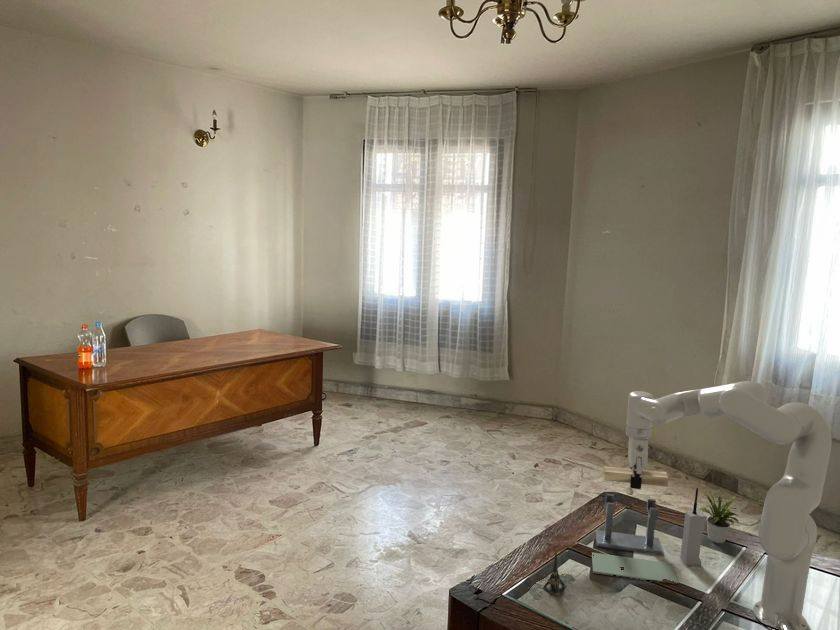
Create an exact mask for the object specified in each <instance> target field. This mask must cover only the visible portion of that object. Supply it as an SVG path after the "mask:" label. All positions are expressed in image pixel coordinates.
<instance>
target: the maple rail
mask: <svg viewBox="0 0 840 630" xmlns="http://www.w3.org/2000/svg"><path fill="white" fill-rule="evenodd" d="M635 471H636V469H634V472H635ZM631 476H632V469H630V468H626V467H625V468H624V467H615V466H606V465H605V466H603V480H604V481H607V482H618V483H628V484H630V482H631ZM668 484H669V476H668V473H667V471H666V472H665V471H657V470H648V469H646V470H645V469H642V482H641V485H648V486H649V485H650V486H657V487H668Z"/></svg>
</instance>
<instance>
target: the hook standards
mask: <svg viewBox="0 0 840 630" xmlns="http://www.w3.org/2000/svg"><path fill="white" fill-rule="evenodd" d="M614 495H615V494H612V493H606V494H605V510H606V511H605V521H604V530H601V529H595V539H596V540H595V541H596V546H597V547H600V548H608V549H615V550H623V551H628V552H629V551H631V552H637V553H643V554H652V555H658V556H663V553H664V552H663V549H662V545H661V541H660V539H659V537H655V528H656V520H659V512H660V510H659V508H657V507H656V503H657V501H656V499H655V498H654V499H652V498H647V501H646V510H647V513H648V514H647V523H646V533H645V535H639V534H632V533H631V534H629V533H623V532H615V531H613V523H614V522H613V519H614V515H615V514H616V502H614V501H615V500H614V499H615V496H614Z"/></svg>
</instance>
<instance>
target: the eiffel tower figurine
mask: <svg viewBox="0 0 840 630" xmlns="http://www.w3.org/2000/svg"><path fill="white" fill-rule="evenodd" d="M559 574H561V575H559ZM565 574H566V573H559V569H558V549H557V546H556V549H555V551H554V561H553V566H552V570H551V574H549V575H550V576H547V577H546V578H544V579H542V580H540V581H538V582H536V584H534V585H533V586H532V587H531V588H530V589H529V590H530V592H531V594H532V595H533V597H534V599H536V600H537V599H538V600H542V597H541V595H542V593H543V592H544V591H545V592H548V593H550V594H553V595H554V596H555V595H556V596H558V597H561V595H562V596H563V595H564V596H565V590H566V588H567V587H568V585H573V583H574V582H575V581H576V579H575V578H574V576H573V575H572V573H571V574H570V575H569V574H566V575H565ZM564 575H565V576H564Z"/></svg>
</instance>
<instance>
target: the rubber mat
mask: <svg viewBox="0 0 840 630" xmlns="http://www.w3.org/2000/svg"><path fill="white" fill-rule="evenodd" d="M591 553H592V555H591V562H592V563H591V565H592V573H594V574H599V575H604V576H605V575H606V576H612V577H614V576H613V575H616V576H615V577H618V578H619V576H625V577H630V578H629V579H632V578H635V579H634V580H639V579H640V581H646V580H657V581H662V580H663V579H667V580H670V581H674V582H676V583H678V584H679V581H678V579H677V576H676V575H677V574H676V573H675V569H674V565H673V563H671V562H663V561H658V560H656V561H655V560H650V559H644V558H643V559H642V558H634V557H629V556H620V555H613V554H605V553H600V552H594V551H593V552H591ZM593 555H594V556H593ZM620 567H624V570H621V568H620ZM625 577H624V578H625Z"/></svg>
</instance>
